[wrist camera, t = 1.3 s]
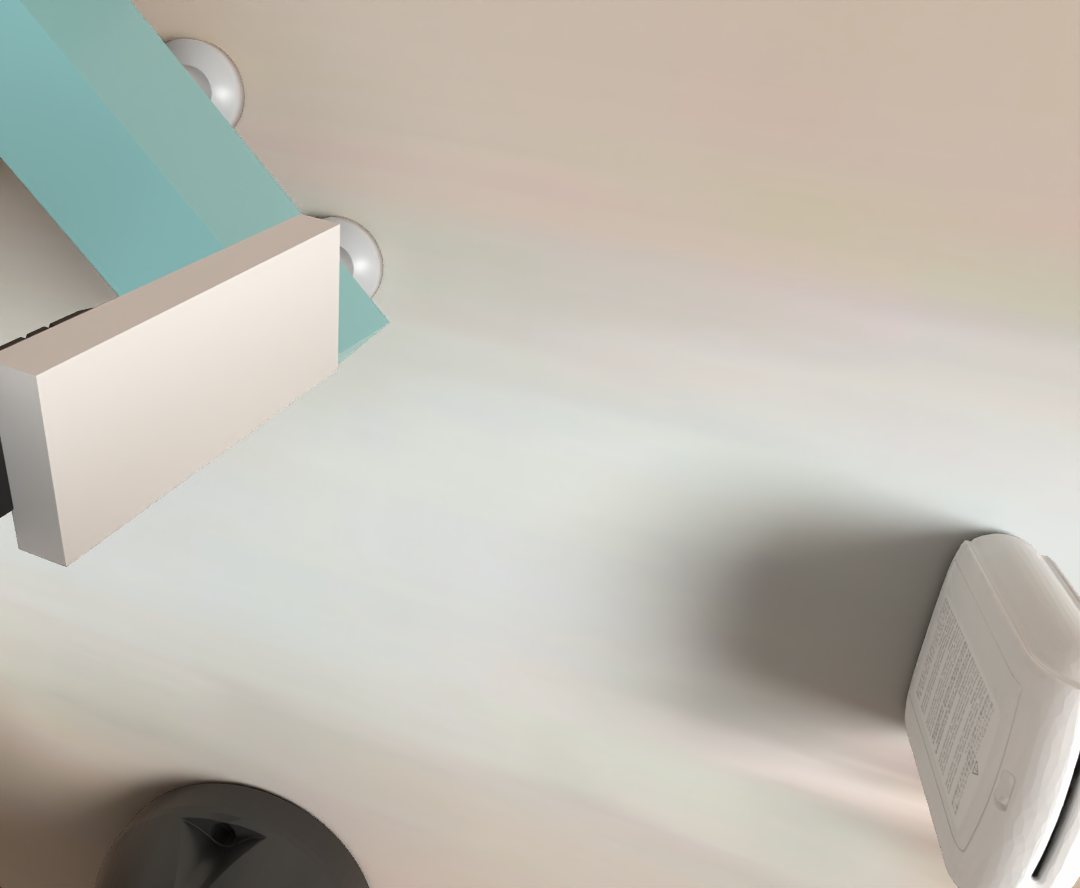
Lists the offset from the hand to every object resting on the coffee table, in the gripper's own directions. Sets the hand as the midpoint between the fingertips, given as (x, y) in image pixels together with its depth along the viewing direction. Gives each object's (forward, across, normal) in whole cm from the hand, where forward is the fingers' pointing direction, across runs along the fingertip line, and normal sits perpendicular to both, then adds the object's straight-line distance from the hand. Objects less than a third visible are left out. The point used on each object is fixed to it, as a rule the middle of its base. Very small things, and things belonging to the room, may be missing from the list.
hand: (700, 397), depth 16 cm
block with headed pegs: (+22, +23, +6) cm, 32 cm away
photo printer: (+25, -11, +20) cm, 34 cm away
